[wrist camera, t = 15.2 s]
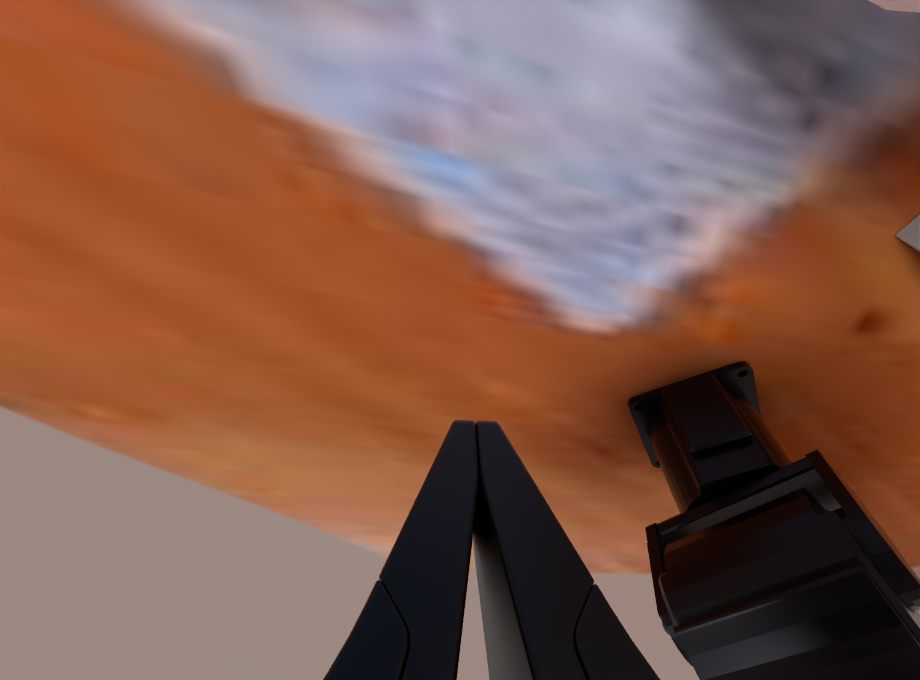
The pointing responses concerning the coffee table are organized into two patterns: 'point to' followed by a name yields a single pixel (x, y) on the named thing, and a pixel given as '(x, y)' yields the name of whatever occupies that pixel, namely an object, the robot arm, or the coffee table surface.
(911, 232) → the button housing
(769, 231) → the coffee table surface
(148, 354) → the coffee table surface
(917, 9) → the foam cup
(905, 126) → the coffee table surface
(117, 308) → the coffee table surface
